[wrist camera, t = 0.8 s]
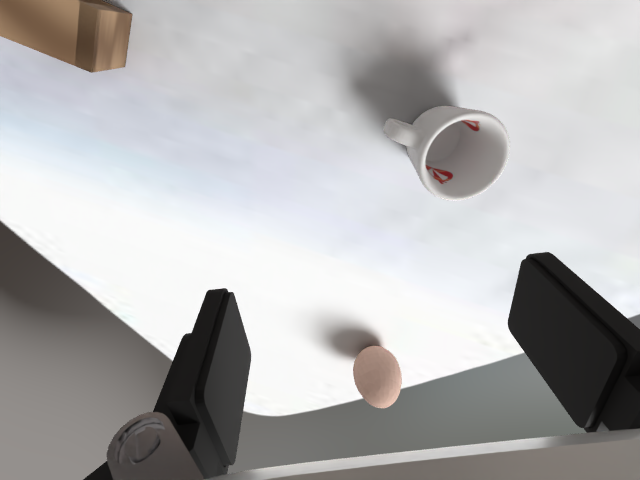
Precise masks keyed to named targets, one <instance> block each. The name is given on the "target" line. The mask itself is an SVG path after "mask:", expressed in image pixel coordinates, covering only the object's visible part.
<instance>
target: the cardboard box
mask: <svg viewBox="0 0 640 480" xmlns="http://www.w3.org/2000/svg"><path fill="white" fill-rule="evenodd" d="M131 20H132V14H131V13H129V12H127V11H124V10H122V9H120V8H118V7H115V6H113V5H111V4H109V3H107V2H104V1H102V0H0V36H2V37H4V38H7V39H9V40H12V41H14V42H17V43H19V44H22V45H24V46H27V47H29V48H32V49H34V50H37V51H39V52H42V53H44V54H47V55H49V56H52V57H54V58H57V59H59V60H62V61H64V62H67V63H69V64H71V65H74V66H76V67H79V68H81V69H84V70H86V71H89V72H91V73H92V72H98V71H104V70H110V69H116V68H122V67H125V63H126V56H127V49H128V42H129V34H130V27H131Z"/></svg>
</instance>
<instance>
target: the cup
mask: <svg viewBox="0 0 640 480" xmlns="http://www.w3.org/2000/svg"><path fill="white" fill-rule="evenodd" d="M383 131H384V133H385V135H386V136H387V137H389V138H390V139H392V140H394V141H396V142H398V143H400V144H403V145H406V146H407V152H408V156H409V158H410V160H411V162H412V164H413V166H414V168H415V170H416V172H417V174H418V176H419V178H420V180H421V182H422V184H423V185H424V187H425V188H426V189H427V190H428V191H429V192H430V193H432V194H433V195H435V196H437V197H439V198H441V199H445V200H451V201H458V200H465V199H469V198H472V197H474V196H476V195H479V194H480V193H482V192H484V191H485V190H486V189H488V188H489V187H490V186H491V185H492V184H493V183H494V182H495V181H496V180H497V179H498V178H499V176H500V175H501V173H502V172H503V170H504V168H505V166H506V164H507V161H508V158H509V153H510V141H509V136H508V133H507V130H506V128H505V127H504V125H503V124H502V123H501V122H500V121H499V120H498V119H497V118H496V117H494V116H493V115H491V114H489V113H486V112H483V111H478V110H472V109H466V108H459V107H453V106H439V107H434V108H431V109H429V110H427V111H425V112H424V113H422V114H421V115H420V116H419V117H418V118H417V119H416V120H415V121H414V123H413V124H412V125H411V124H408V123H405V122H402V121H399V120H396V119H392V118H390V119H388V120H387V121H386V123H385V125H384V128H383Z"/></svg>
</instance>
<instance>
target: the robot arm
mask: <svg viewBox="0 0 640 480" xmlns="http://www.w3.org/2000/svg"><path fill="white" fill-rule="evenodd" d="M508 327H509V330H510V332H511V334H512V335H513V336H514V338H515V339H516V341H517V342H518V343H519V345H520V346H521V348H522V349H523V350H524V352H525V353H526V355H527V356H528V357H529V359H530V360H531V362H532V363H533V365H534V366H535V367H536V369H537V370H538V372H539V373H540V374H541V376H542V377H543V379H544V380H545V381H546V383H547V384H548V386H549V387H550V388H551V390H552V391H553V393H554V394H555V396H556V397H557V398H558V400H559V401H560V402H561V404H562V405H563V407H564V408H565V410H566V411H567V412H568V414H569V415H570V417H571V418H572V419H573V421H574V422H575V423H576V425H578V426H579V427H581V428H584V429H585V431H586V432H587V433H581V434H571V435H561V436H551V437H541V438H531V439H522V440H511V441H502V442H492V443H483V444H473V445H463V446H454V447H444V448H436V449H425V450H416V451H407V452H397V453H388V454H379V455H370V456H361V457H353V458H343V459H335V460H325V461H316V462H307V463H300V464H292V465H285V466H278V467H269V468H262V469H253V470H248V471H242V472H236V473H231V474H227V471H228V466H229V465H233V464H234V462H235V458H236V452H237V446H238V440H239V433H240V426H241V420H242V413H243V407H244V401H245V395H246V388H247V382H248V375H249V369H250V363H251V351H250V347H249V344H248V340H247V337H246V333H245V330H244V326H243V323H242V320H241V316H240V313H239V309H238V306H237V303H236V299H235V296H234V293H233V292H228V290H227V289H226V288H224V289H215V290H208V291H207V293H206V296H205V298H204V301H203V304H202V306H201V309H200V312H199V314H198V317H197V320H196V323H195V325H194V328H193V331H192V333H189V334H185V335H184V336H183V338H182V340H181V342H180V345H179V347H178V350H177V352H176V355H175V357H174V360H173V362H172V365H171V368H170V370H169V373H168V375H167V378H166V380H165V383H164V385H163V388H162V390H161V393H160V395H159V398H158V400H157V403H156V405H155V408H154V411H153V412H148V413H144V414H141V415H139V416H137V417H135V418H133V419H131V420H130V421H129V422H127V423H126V424H125V425H124V426H123V427H121V428H120V430H119V431H118V432H117V433H116V434H115V435H114V437H113V439H112V441H111V442H110V444H109V447H108V451H107V461H106V462H105V463H104V464H103V465H101V466H100V467H99V468H97V469H96V470H95V471H94V472H93V473H91V474H90V475H89V476H87V477H86V478H85V479H84V480H640V329H639V328H637V327H636V326H635V325H634V324H633V323H632V322H630V321H629V320H628V319H627V318H626V317H625V316H624V315H622V314H621V313H620V312H619V311H618V310H617V309H615V308H614V307H613V306H612V305H611V304H610V303H608V302H607V301H606V300H605V299H604V298H603V297H602V296H600V295H599V294H598V293H597V292H596V291H595V290H593V289H592V288H591V287H590V286H589V285H588V284H586V283H585V282H584V281H583V280H582V279H581V278H579V277H578V276H577V275H576V274H575V273H574V272H573V271H571V270H570V269H569V268H568V267H567V266H566V265H564V264H563V263H562V262H561V261H560V260H559V259H557V258H556V257H555V256H554V255H553V254H551V253H549V252H544V253H535V254H529V255H528V256H527V257H526V259H524V260H523V261H522V262H521V266H520V270H519V274H518V279H517V283H516V288H515V292H514V296H513V301H512V305H511V310H510V314H509V318H508Z"/></svg>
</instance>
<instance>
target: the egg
mask: <svg viewBox="0 0 640 480" xmlns="http://www.w3.org/2000/svg"><path fill="white" fill-rule="evenodd" d="M353 375H354V380H355V384H356V386H357V389H358V391H359V392H360V394H361V395H362V397H363V398H364V399H365V400H366V401H367V402H368V403H369V404H371V405H372V406H374V407H377V408H386V407H388V406H390V405H392V404H393V403H394V402H395V401H396V399H397V397H398V395H399V393H400V388H401V382H402V379H401V371H400V367H399V364H398V362H397V360H396V358H395V357H394V356H393V355H392V353H391V352H389V351H388V350H386V349H385V348H383V347H380V346H369V347H366V348H365V349H363V350H362V351H361V352H360V353H359V354H358V356H357V358H356V360H355V362H354V367H353Z"/></svg>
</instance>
